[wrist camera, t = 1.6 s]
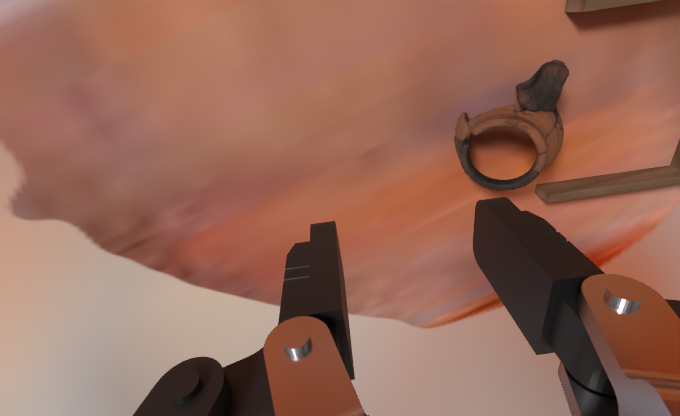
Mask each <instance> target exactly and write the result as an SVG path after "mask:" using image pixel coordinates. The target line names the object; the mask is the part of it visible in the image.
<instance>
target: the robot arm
mask: <svg viewBox="0 0 680 416" xmlns="http://www.w3.org/2000/svg"><path fill="white" fill-rule="evenodd" d="M473 251H474V256H475V259H476V261H477V264H478V265H479V267H480V268H481V270H482V271H483V273H484V275H485V276H486V278H487V279H488V281H489V282H490V284H491V285H492V287H493V288H494V290H495V292H496V293H497V295H498V296H499V298H500V299H501V301H502V302H503V304H504V305H505V307H506V309H507V310H508V312H509V313H510V315H511V316H512V318H513V319H514V321H515V322H516V324H517V325H518V327H519V328H520V330H521V332H522V333H523V335H524V336H525V338H526V339H527V341H528V342H529V344H530V346H531V347H532V349H533V350H534V352H535V353H536V355H539V354H546V353H553V352H555V353H556V355H557V356H558V357H559V359H560V360H561V361H560V365H559V369H558V375H559V379H560V382H561V385H562V388H563V391H564V394H565V396H566V399H567V402H568V405H569V409H570V412H571V415H572V416H680V301H677V300H667V299H664V298H663V297H662V296H661V295H660V294H659V293H658V292H657V291H655V290H654V289H652V288H651V287H649V286H647V285H646V284H644V283H642V282H639V281H637V280H634V279H632V278H629V277H625V276H620V275H615V274H605V273H604V272H603V271H602V270H601V269H599V268H598V267H597V266H596V265H595V264H594V263H593V262H592V261H590V260H589V259H588V258H587V257H586V256H585V255H584V254H583V253H582V252H580V251H579V250H578V249H577V248H576V247H575V246H574V245H573V244H572V243H570V242H569V241H568V242H567V240H566V238H565V237H564V236H563V235H561V234H560V233H559V232H556V229H555V228H554V227H553V226H551V225H550V224H549V223H548V222H547V221H546V220H545V219H543V218H541V217H539V216H537V215H535V214H533V213H530V212H528V211H520V210H519V209H518V208H517V207H516V206H515V205H514V204H513V203H512V202H511V201H510V200H509V199H508V198H506V197H500V198H493V199H486V200H479V201H478V202H477V203H476V207H475V220H474V234H473ZM285 269H286V270H285V275H284V283H283V291H282V299H281V307H280V315H279V323H278V326H276V327H275V328H274V329H273V330H272V332H271V333H270V334H269V335H268V337H267V339H266V341H265V344H264V347H263V348H262V349H260V350H259V351H258V352H256V353H255V354H253V355H251V356H249V357H247V358H245V359H242V360H240V361H237V362H235V363H233V364H230V365H228V366H226V367H223V368H222V366H221V365H220V363H218V361H216V360H214V359H212V358H209V357H196V358H192V359H189V360H186V361H183V362H181V363H180V364H178V365H176V366H175V367H173V368H172V369H170V370H169V371H168V372H167V373H166V374H164V376H162V378H160V380H159V381H158V382H157V383H156V385H155V386H154V387H153V389H152V390H151V391H150V393H149V394H148V396H147V397H146V398H145V400H144V401H143V402H142V404H141V405H140V406H139V408H138V409H137V411H136V412H135V413H134V415H133V416H367V415H366V414H365V412H364V410H363V408H362V406H361V404H360V401H359V399H358V396H357V394H356V392H355V389H354V387H353V385H352V382H351V380H353V379H355V377H354V367H353V358H352V348H351V338H350V329H349V320H348V310H347V300H346V291H345V281H344V273H343V266H342V260H341V254H340V248H339V241H338V235H337V229H336V224H335V221H331V222H324V223H317V224H311V229H310V241H309V242H302V243H295V245H294V246H293V247H292V249H291V250H290V252H289V253H288V254H287V259H286V267H285Z"/></svg>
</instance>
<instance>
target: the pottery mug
mask: <svg viewBox="0 0 680 416" xmlns="http://www.w3.org/2000/svg"><path fill="white" fill-rule="evenodd" d="M568 75H569V70H568V69H567V67H566V65H565V63H564V62H562V61H559V60H553V61H551V62H547V63H545V64H543V65H542V66H541V67H540V68H539V70H538V71H537V72H536V73H535V74H534V75H533V76H532V77H531V78H530V79H529V80H528V81H526V82H523V83H520V84H518V85H516V90H518V93H517V100H518V102H519V104H520V105H521V106H522V107H523V108H524V109H526V111H522V112H516V109H515V105H509V106H505V107H501V108H496V109H492V110H490V111H487V112H485V113H482V114H479V115H477V116H476V117H474V118H472V119H471V120H470V121H469V122H468V120H467V113H462V115H461V116H460V118H459V120H458V122H457V127H456V135H455V138H454V141H455V146H456V151H457V154H458V157H459V159H460V161H461V165H462V168H463V169H464V171H465V172H466V174H467V175H469V177H470V178H471V179H472V180H473V181H474V182H476V183H478V184H479V185H481V186H483V187H486V188H488V189H492V190H514V189H518V188H521V187H524V186H526V185H527V184H529V183H530V182H532V181H533V180H534V179H535V178H536V177H537V176H538V175H539V173H540V172H541V170H542V169H543V167H545V166H549V165H550V164H551V163H552V162H553V161H554V160H555V158H556V156H557V155H558V153H559V151H560V148H561V145H562V141H563V135H564V129H563V125H562V120H561V117H560V115H559V112H558V110H557V108H556V106H555V105H556V103H557V101H558V98H559V97H560V95H561V91H562V87H563V85H564V83H565V81H566V79H567V77H568ZM495 127H511V128H517V129H518V130H521V131H522V132H524V133H525V134H527V135H528V136H529V137H530V138H531V139H532V141H533V142H534V144H535V146H536V150H537V157H536V161H535V163H534V164H533V166H532V168H531V169H530V170H529V171H528V172H527V173H525V174H524V175H522V176H520V177H518V178H515V179H511V180H497V179H492V178H489V177H487V176H485V175H483V174H481V173H480V172H479V171H478V170H477V169H476V168H475V167H474V166H473V164H472V162H471V160H470V156H469V149H470V143H469V141H468V140H469V138H470V137H471V135H472V134H474V135H475V136H477V135H479V134H480V133H482V132H484V131H486V130H488V129H490V128H495Z"/></svg>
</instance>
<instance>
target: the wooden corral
mask: <svg viewBox="0 0 680 416" xmlns="http://www.w3.org/2000/svg"><path fill="white" fill-rule="evenodd" d="M654 1H661V0H567V3H566V9H565V12H587V11H594V10H601V9H607V8H614V7H621V6H627V5H634V4H641V3H647V2H654ZM678 184H680V140H679V143H678V146H677V149H676V151H675V154H674V157H673V160H672V162H671V165H670V166H664V167H657V168H650V169H643V170H636V171H629V172H622V173H615V174H608V175H601V176H594V177H587V178H580V179H573V180H566V181H559V182H552V183H546V184H539V185H536V190H535V193H536V194H537V195H539V196H540V197H541V198H542V199H544V200H545V201H546V202H547V203H552V202H559V201H566V200H573V199H580V198H587V197H594V196H601V195H608V194H615V193H622V192H629V191H636V190H643V189H650V188H657V187H664V186H671V185H678Z"/></svg>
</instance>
